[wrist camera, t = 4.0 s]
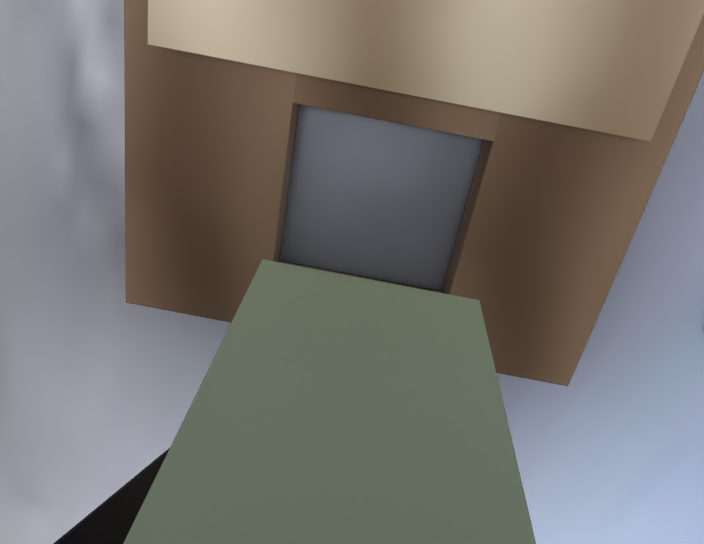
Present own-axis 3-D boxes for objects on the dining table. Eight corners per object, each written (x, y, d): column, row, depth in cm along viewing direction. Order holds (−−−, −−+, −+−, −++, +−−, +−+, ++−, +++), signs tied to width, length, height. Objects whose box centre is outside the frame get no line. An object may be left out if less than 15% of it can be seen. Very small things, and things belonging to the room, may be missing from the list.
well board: (828, -297, 14) (874, -325, 12) (558, 361, 22) (568, 386, 21) (149, -432, 14) (121, -476, 12) (142, 282, 22) (125, 302, 21)
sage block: (479, 300, 11) (628, 945, 4) (428, 460, 13) (462, 1097, 5) (262, 259, 11) (-19, 828, 4) (243, 425, 13) (34, 1021, 5)
